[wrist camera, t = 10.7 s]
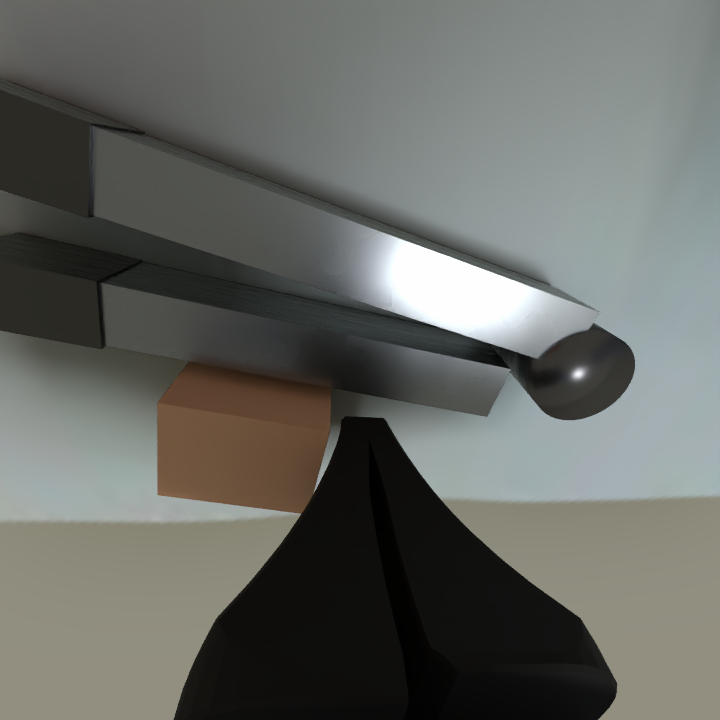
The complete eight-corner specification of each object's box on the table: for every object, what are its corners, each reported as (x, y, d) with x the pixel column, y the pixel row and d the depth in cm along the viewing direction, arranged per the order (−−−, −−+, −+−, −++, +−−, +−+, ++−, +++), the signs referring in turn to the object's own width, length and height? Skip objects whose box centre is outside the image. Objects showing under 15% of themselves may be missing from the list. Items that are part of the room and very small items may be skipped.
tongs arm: (610, 306, 11) (668, 336, 9) (554, 388, 12) (594, 429, 10) (-4, 76, 8) (-118, 47, 6) (7, 220, 9) (-83, 234, 7)
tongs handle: (485, 336, 12) (513, 369, 10) (465, 382, 12) (487, 420, 10) (18, 232, 9) (-60, 248, 8) (28, 294, 10) (-41, 322, 8)
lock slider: (331, 371, 12) (330, 431, 9) (314, 443, 13) (307, 514, 10) (201, 346, 11) (157, 402, 8) (196, 424, 12) (157, 495, 10)
